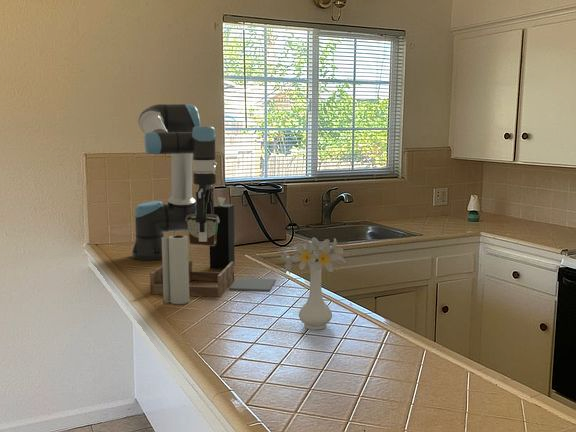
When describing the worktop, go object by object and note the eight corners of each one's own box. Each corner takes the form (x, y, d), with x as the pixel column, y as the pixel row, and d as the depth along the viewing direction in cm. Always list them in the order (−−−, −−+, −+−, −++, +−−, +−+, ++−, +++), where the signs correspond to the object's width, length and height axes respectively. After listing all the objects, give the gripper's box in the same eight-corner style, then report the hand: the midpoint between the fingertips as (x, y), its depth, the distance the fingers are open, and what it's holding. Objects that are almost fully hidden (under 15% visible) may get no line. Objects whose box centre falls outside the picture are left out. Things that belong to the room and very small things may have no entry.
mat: (237, 279, 222) (237, 277, 222) (275, 280, 220) (275, 279, 220) (229, 289, 208) (229, 288, 208) (269, 291, 207) (269, 289, 207)
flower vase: (274, 325, 172) (273, 238, 168) (330, 316, 180) (331, 233, 176) (294, 339, 160) (295, 246, 157) (354, 329, 168) (355, 240, 165)
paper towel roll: (193, 300, 196) (191, 235, 192) (182, 305, 190) (180, 238, 187) (174, 298, 199) (172, 233, 195) (163, 303, 193) (161, 236, 190)
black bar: (229, 270, 237) (228, 198, 232) (209, 269, 238) (208, 198, 234) (234, 265, 244) (233, 196, 240) (216, 264, 246) (214, 195, 241)
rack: (170, 278, 224) (169, 259, 223) (234, 280, 221) (233, 261, 220) (150, 293, 203) (150, 273, 202) (220, 296, 200) (220, 275, 199)
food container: (226, 243, 210) (225, 214, 209) (218, 246, 205) (217, 217, 203) (194, 240, 214) (193, 212, 213) (185, 244, 209) (185, 215, 207)
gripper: (207, 175, 196) (209, 245, 199) (222, 170, 215) (223, 234, 218) (185, 174, 197) (186, 244, 200) (201, 170, 216) (203, 233, 219)
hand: (205, 239), depth 209 cm, fingers closed on food container, 7 cm apart
